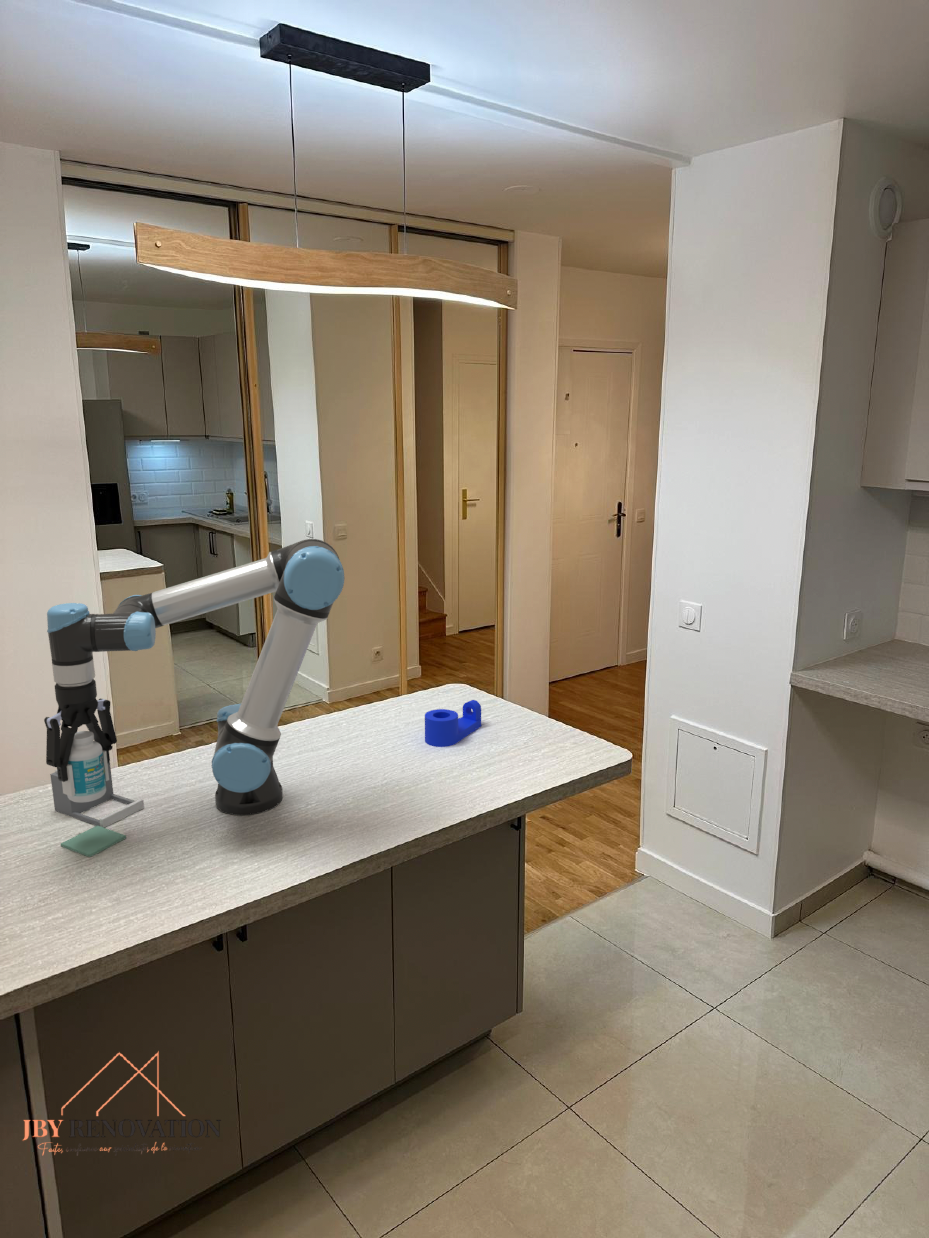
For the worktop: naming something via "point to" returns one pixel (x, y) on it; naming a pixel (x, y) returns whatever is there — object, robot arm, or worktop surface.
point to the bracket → (451, 724)
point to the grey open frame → (93, 803)
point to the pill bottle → (87, 768)
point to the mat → (93, 841)
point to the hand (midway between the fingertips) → (86, 786)
